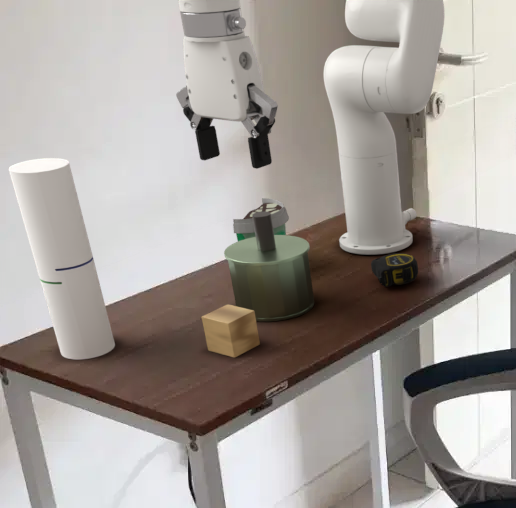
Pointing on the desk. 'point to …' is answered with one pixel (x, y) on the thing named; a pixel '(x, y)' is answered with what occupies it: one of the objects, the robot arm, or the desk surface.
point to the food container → (275, 207)
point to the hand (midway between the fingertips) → (235, 161)
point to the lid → (266, 245)
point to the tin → (274, 289)
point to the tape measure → (395, 269)
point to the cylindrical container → (63, 256)
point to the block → (231, 330)
